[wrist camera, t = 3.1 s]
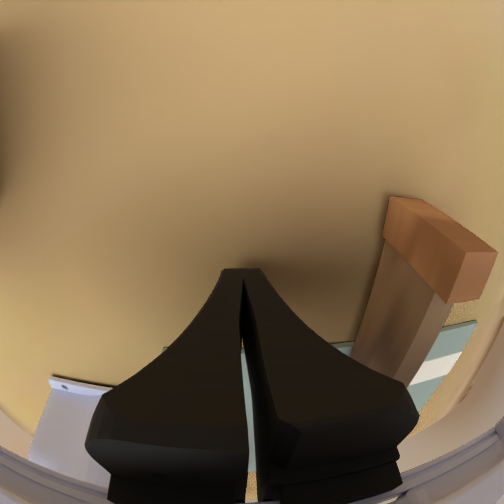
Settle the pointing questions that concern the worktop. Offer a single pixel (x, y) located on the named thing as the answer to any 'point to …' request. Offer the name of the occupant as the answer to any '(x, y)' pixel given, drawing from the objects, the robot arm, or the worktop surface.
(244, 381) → the card
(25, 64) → the worktop surface
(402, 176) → the worktop surface
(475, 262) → the hinged fence panel
